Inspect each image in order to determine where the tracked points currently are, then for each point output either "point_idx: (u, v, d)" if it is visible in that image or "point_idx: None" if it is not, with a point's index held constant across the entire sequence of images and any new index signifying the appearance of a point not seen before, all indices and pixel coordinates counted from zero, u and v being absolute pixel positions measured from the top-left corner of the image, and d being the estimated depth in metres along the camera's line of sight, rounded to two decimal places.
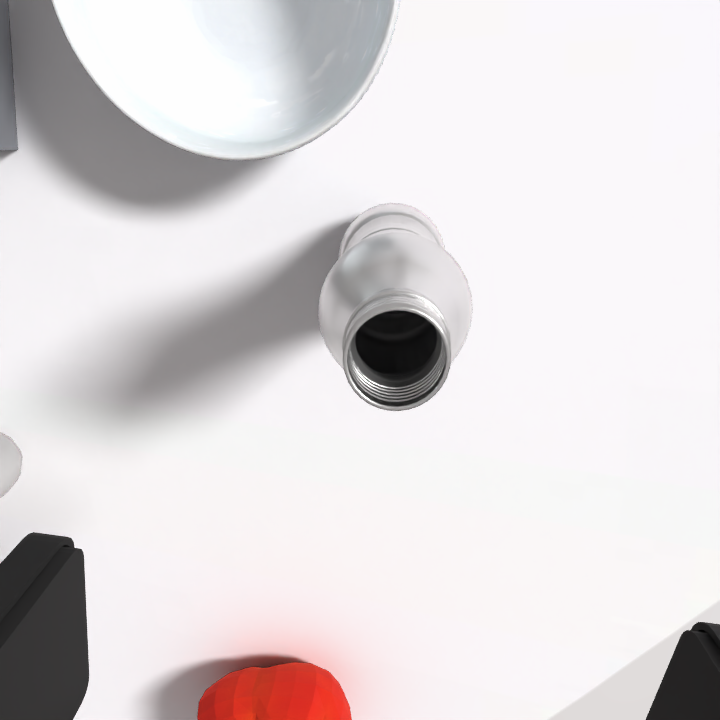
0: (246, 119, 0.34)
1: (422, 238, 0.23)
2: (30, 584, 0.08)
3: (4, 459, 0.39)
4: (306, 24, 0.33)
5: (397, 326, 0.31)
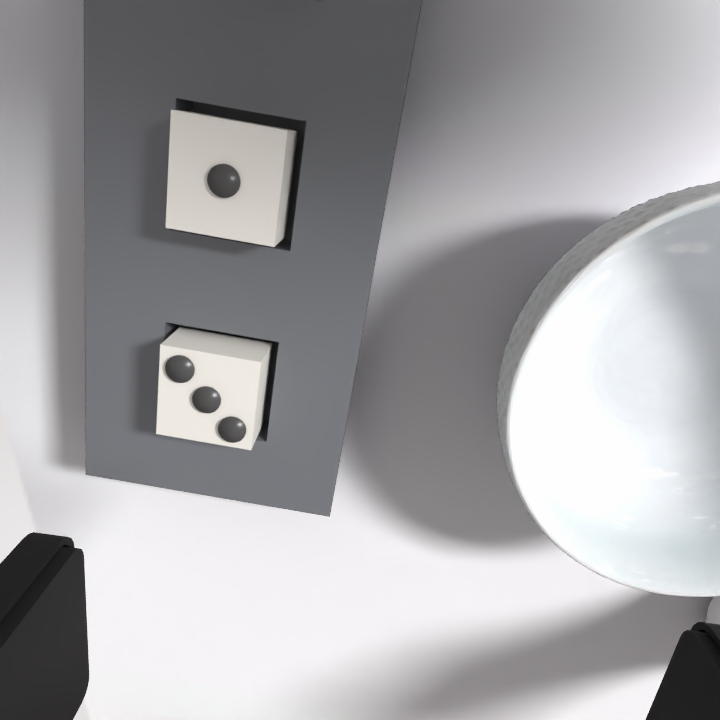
0: (640, 493, 0.28)
1: None
2: (30, 584, 0.08)
3: None
4: None
5: None
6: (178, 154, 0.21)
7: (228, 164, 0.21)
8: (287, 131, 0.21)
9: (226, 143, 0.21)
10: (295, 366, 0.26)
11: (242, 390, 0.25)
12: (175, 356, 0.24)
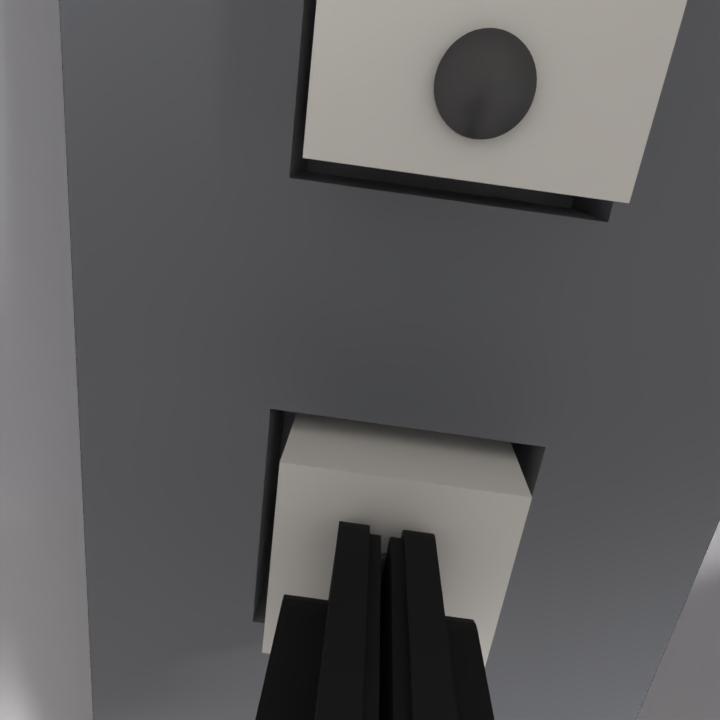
0: None
1: None
2: (368, 564, 0.09)
3: None
4: None
5: None
6: (292, 538, 0.10)
7: None
8: (529, 495, 0.10)
9: (396, 519, 0.10)
10: None
11: None
12: None
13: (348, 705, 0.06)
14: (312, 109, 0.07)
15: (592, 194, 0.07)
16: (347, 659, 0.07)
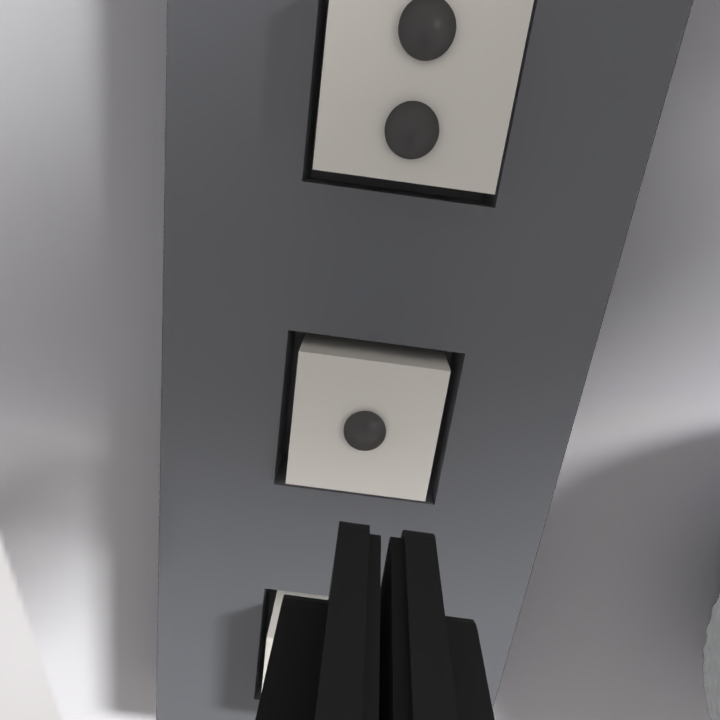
0: None
1: None
2: (368, 564, 0.09)
3: None
4: None
5: None
6: (305, 401, 0.17)
7: (372, 413, 0.16)
8: (449, 371, 0.16)
9: (369, 388, 0.16)
10: None
11: None
12: None
13: (348, 705, 0.06)
14: (318, 142, 0.13)
15: (474, 189, 0.13)
16: (347, 659, 0.07)
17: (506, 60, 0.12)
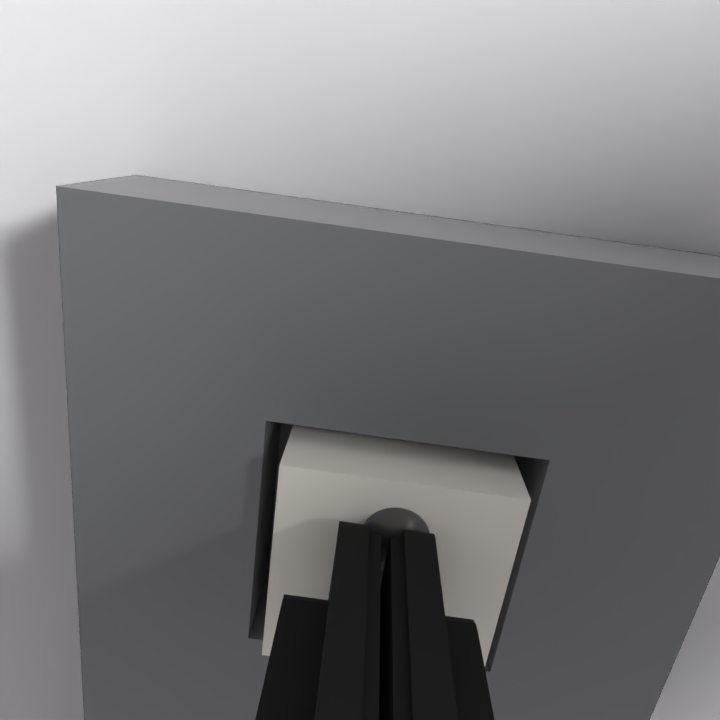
0: None
1: None
2: (368, 565, 0.09)
3: None
4: None
5: None
6: None
7: None
8: None
9: None
10: None
11: None
12: None
13: (348, 705, 0.06)
14: (267, 630, 0.11)
15: None
16: (347, 658, 0.07)
17: (493, 569, 0.10)
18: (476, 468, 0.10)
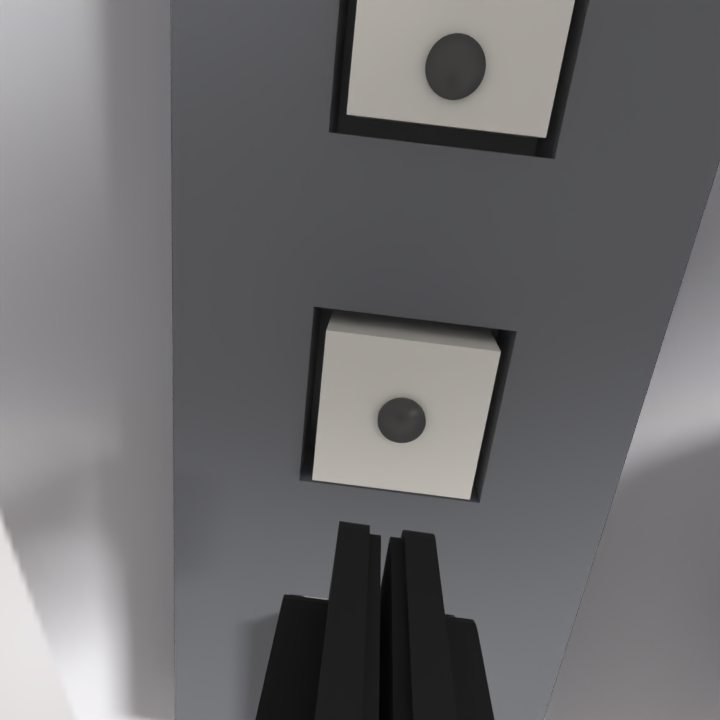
0: None
1: None
2: (368, 564, 0.09)
3: None
4: None
5: None
6: (334, 388, 0.15)
7: (410, 401, 0.14)
8: (499, 351, 0.14)
9: (407, 371, 0.14)
10: None
11: None
12: None
13: (348, 705, 0.06)
14: (352, 84, 0.12)
15: (523, 132, 0.12)
16: (347, 658, 0.07)
17: None
18: None
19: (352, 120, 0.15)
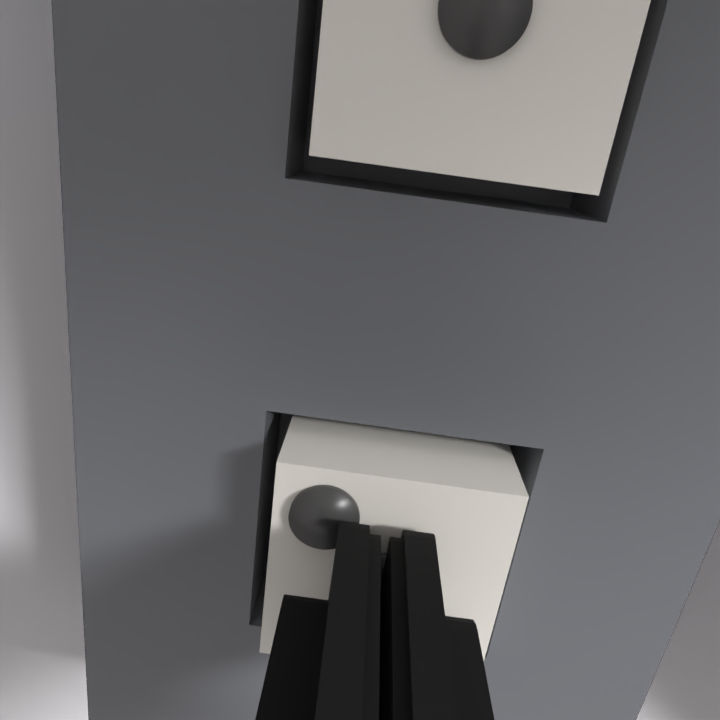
0: None
1: None
2: (368, 565, 0.09)
3: None
4: None
5: None
6: None
7: None
8: None
9: None
10: (576, 503, 0.11)
11: (473, 561, 0.10)
12: (313, 487, 0.10)
13: (348, 705, 0.06)
14: None
15: None
16: (347, 658, 0.07)
17: None
18: None
19: None
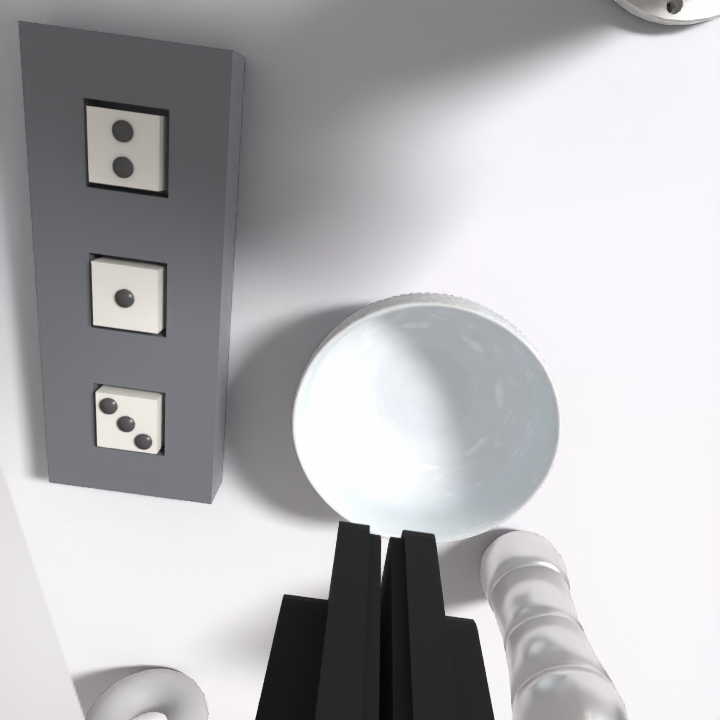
0: (414, 480, 0.43)
1: (596, 684, 0.32)
2: (368, 564, 0.09)
3: (200, 713, 0.49)
4: (464, 414, 0.42)
5: None
6: (97, 284, 0.37)
7: (125, 290, 0.37)
8: (158, 270, 0.37)
9: (124, 278, 0.37)
10: (177, 407, 0.41)
11: (147, 417, 0.40)
12: (105, 398, 0.40)
13: (348, 705, 0.06)
14: (89, 171, 0.35)
15: (151, 189, 0.35)
16: (347, 659, 0.07)
17: (153, 142, 0.34)
18: None
19: None
